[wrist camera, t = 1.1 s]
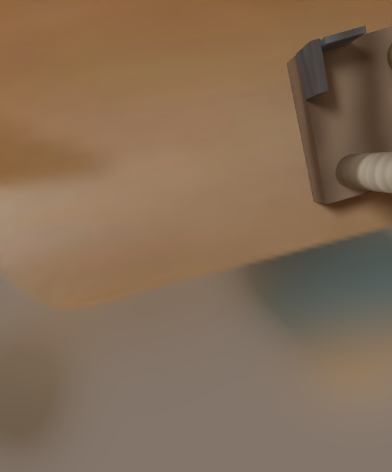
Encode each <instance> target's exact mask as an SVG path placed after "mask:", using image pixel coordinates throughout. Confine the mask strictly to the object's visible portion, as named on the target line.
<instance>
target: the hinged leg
mask: <svg viewBox="0 0 392 472" xmlns="http://www.w3.org/2000/svg"><path fill="white" fill-rule="evenodd" d="M387 59H388V63H389V64H390V66H391V67H392V44H391V46H390V47H389V49H388V53H387Z"/></svg>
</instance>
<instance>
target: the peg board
mask: <svg viewBox="0 0 392 472" xmlns="http://www.w3.org/2000/svg"><path fill="white" fill-rule="evenodd" d="M365 33H366V27H365V26H363V27H359V28H355V29H352V30H348V31H345V32H341V33H338V34H334V35H331V36H327V37H324V38H323V39H322V40H321V41H320V39H317V40H313V41H310V42H309V43H308V44H307V45H306V46H304V47H303V48H302V49H301V50H300V51H299V52H298V53H297V54H296V56H295V57H294V58H292V59H291V60H290V61H289V62H288V63H287V67H288V72H289V77H290V82H291V87H292V92H293V98H294V103H295V108H296V113H297V118H298V123H299V128H300V133H301V139H302V144H303V149H304V154H305V159H306V164H307V169H308V175H309V180H310V185H311V190H312V195H313V200H314V201H315V202H319V203H323V204H330V203H333V202H337V201H340V200H344V199H347V198H351V197H354V196H358V195H361V194H364V193H368V192H371V191H378V192H385V193H392V67H391V66H390V64H389V63H388V59H387V53H388V49H389V47H390V46H391V44H392V27H389V28H386V29H382V30H378V31H375V32H371V33H368V34H365ZM363 34H364V35H363Z"/></svg>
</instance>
